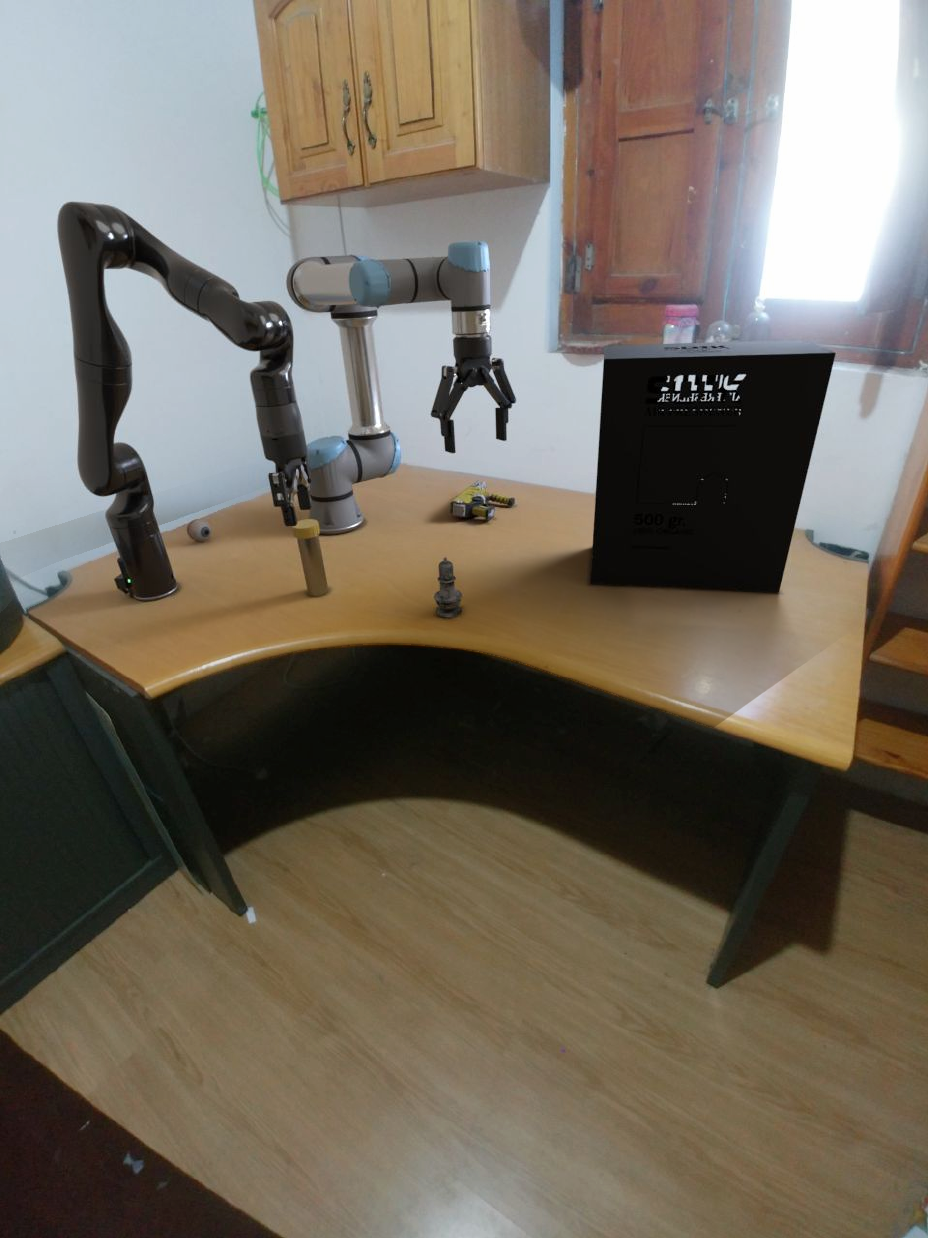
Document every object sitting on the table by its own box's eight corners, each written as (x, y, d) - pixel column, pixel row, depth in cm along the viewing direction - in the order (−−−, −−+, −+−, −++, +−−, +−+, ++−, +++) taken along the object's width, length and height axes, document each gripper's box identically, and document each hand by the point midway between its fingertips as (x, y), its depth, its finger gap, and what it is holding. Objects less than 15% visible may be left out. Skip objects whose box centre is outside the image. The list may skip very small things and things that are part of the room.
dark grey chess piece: (460, 618, 120) (456, 564, 114) (431, 617, 121) (426, 562, 115) (465, 604, 125) (462, 551, 119) (438, 603, 126) (434, 550, 120)
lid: (293, 540, 124) (291, 529, 123) (294, 531, 129) (292, 520, 128) (320, 536, 125) (318, 526, 124) (319, 527, 130) (318, 517, 129)
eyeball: (200, 546, 160) (194, 525, 157) (185, 542, 163) (179, 521, 160) (219, 538, 165) (213, 517, 162) (204, 535, 168) (198, 514, 165)
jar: (308, 597, 132) (294, 530, 124) (308, 589, 136) (294, 523, 128) (328, 594, 132) (316, 527, 125) (328, 586, 136) (316, 520, 128)
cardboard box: (758, 552, 140) (802, 339, 117) (778, 592, 123) (835, 352, 100) (592, 546, 147) (604, 345, 125) (590, 583, 130) (603, 358, 108)
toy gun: (523, 485, 181) (476, 478, 185) (501, 509, 161) (448, 500, 165) (521, 500, 184) (475, 493, 187) (499, 525, 163) (447, 517, 167)
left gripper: (275, 421, 112) (292, 505, 120) (244, 440, 100) (266, 531, 108) (314, 420, 111) (328, 504, 120) (288, 438, 99) (306, 531, 107)
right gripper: (429, 342, 108) (437, 460, 118) (533, 329, 120) (532, 437, 131) (407, 340, 113) (417, 454, 124) (508, 328, 125) (510, 432, 136)
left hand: (299, 517), depth 114 cm, fingers open, 8 cm apart
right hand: (476, 445), depth 127 cm, fingers open, 13 cm apart
